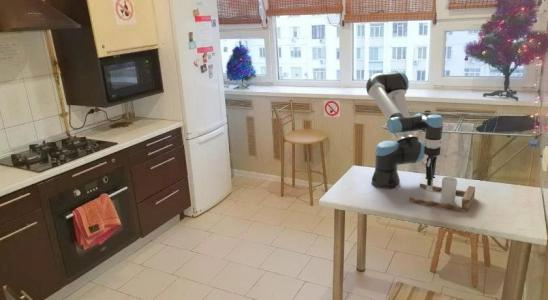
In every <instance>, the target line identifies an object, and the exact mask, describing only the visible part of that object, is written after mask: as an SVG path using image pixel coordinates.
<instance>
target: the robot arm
mask: <svg viewBox="0 0 548 300" xmlns="http://www.w3.org/2000/svg"><path fill="white" fill-rule="evenodd" d="M409 84H410V83H409V78H408V76H407V74H406V73H405V72H403V71H397V70H396V71H387V72H378V73H374V74H372V75H371V76H370V77H369V78H368V80H367V82H366V85H365V88H366V89H365V90H366V92H367V94H368V97H369V98H370V99H373V101H374V102H375V103H376V105H377V106H378V108H379V109H380V111H381V113H382V114H383V115H384V117H385V118H386V119H387V122H386V128H387V131H388V132H389V133H392V134H393V133H394V134H395V133H396V134H397V140H396V141H395V140H383V141H380V142H379V143H377V145H376V146H375V152H374V155H375V162H374V163H375V164H374V165H375V166H374V167H375V168H374V172H373V174H372V177H371V184H372V186H374V187H377V188H380V189H393V188H394V189H395V188H397V187H399V186H400V184H401V183H400V182H401V179H400V176H399V171H398V166H399V165H408V164H416V163H420V162H422V161H423V160H424V158H425V155H426V156H427V157H426V163H425V179H426V185H427V187H426V189H425V190H426V191H428V192H433V191H434V190H433V186H434V179H436V176H435V175H436V174H435V173H436V165H437V159H438V156H440V155H441V150H442V149H441V146H442V143H443V140H442V136H443V127H444V122H443V121H444V120H443V119H444V118H443V116H442V115H440V114H428V115H427V114H424V113H419V112H418V113H415V115H411V116H410V111H409V107H408V104H407V100H406V96H405V95H406V94H407V91H408V89H409V86H410V85H409ZM416 131H422V132H425V134H424V142H423V141H422V140H420V139H419V137H418V135H415V132H416Z"/></svg>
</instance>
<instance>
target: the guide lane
mask: <svg viewBox="0 0 548 300" xmlns="http://www.w3.org/2000/svg"><path fill="white" fill-rule="evenodd" d="M426 187H427V183H426V184H425V183H419V189H425V190H426ZM432 191H436V192H440V191H442V186H438V185H433V190H432ZM465 192H466V190H461V189H460V190H459V189H456V194H455V195H459V196H462V197H463V196H464V194H465ZM408 201H409V202H410V203H415V204H419V205H424V206H430V207H435V208H439V209H444V210H448V211H449V210H450V211H455V212H460V213H461V212H462V210H461V208H462V206H458V205H453V204H445V203H442V202H438V201H433V200H427V199H421V198H418V197H413V196H412V197H411V196H410V197H409V199H408Z"/></svg>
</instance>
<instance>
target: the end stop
mask: <svg viewBox="0 0 548 300" xmlns="http://www.w3.org/2000/svg"><path fill="white" fill-rule="evenodd" d="M465 191H466V192H465V194H464V196H463V195H462V199H461V212H462V211H463V212H469V210H470V208H471V206H472V204H473V202H474V199H475V194H476V193H475V192H476V186H472V185H468V186H467V188H466V190H465Z"/></svg>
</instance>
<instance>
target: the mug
mask: <svg viewBox="0 0 548 300" xmlns="http://www.w3.org/2000/svg"><path fill="white" fill-rule="evenodd" d="M457 186H458V179H457V178H456V177H452V176H443V177H442V178H441V187H442V191H441V194H440V195H441V196H440V201H441V202H440V203H443V204H449V205H453V204H455V202H456V201H455V200H456V195H457V194H456V190H457Z"/></svg>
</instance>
